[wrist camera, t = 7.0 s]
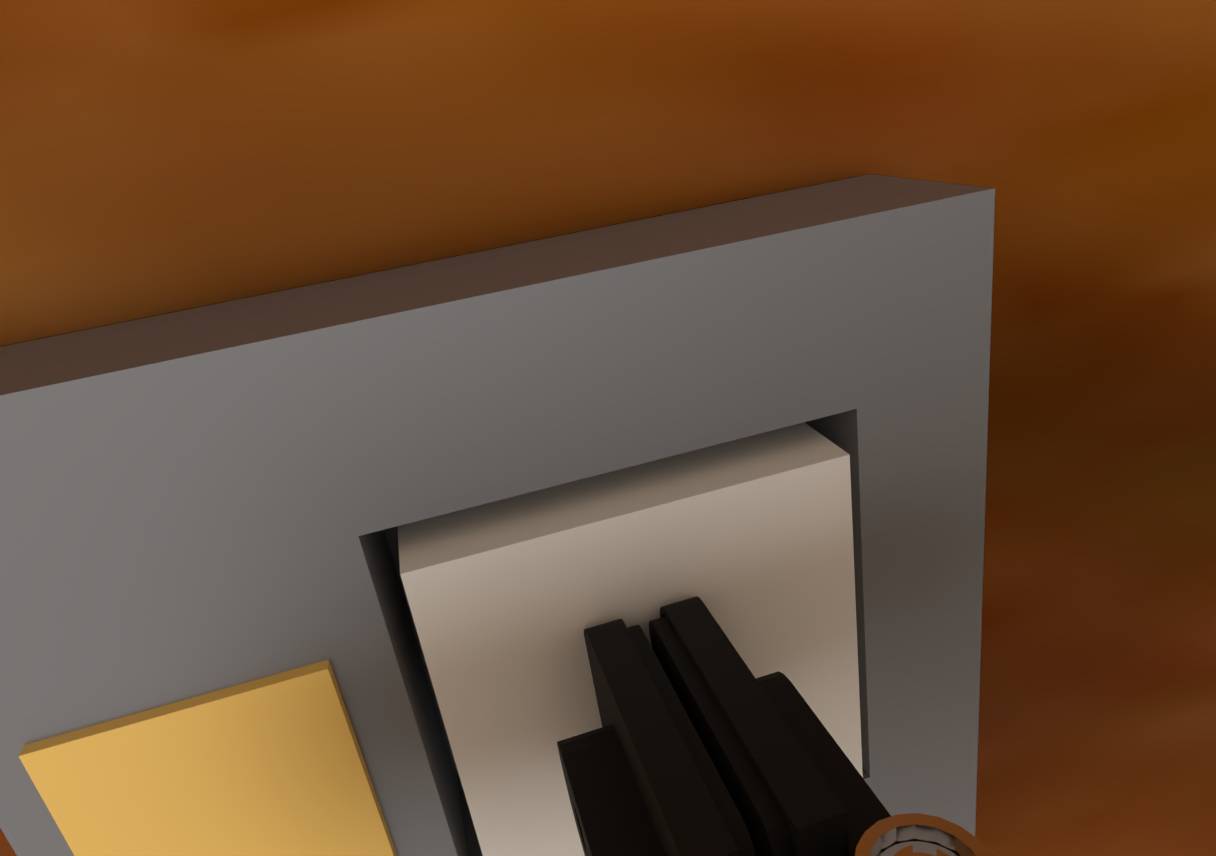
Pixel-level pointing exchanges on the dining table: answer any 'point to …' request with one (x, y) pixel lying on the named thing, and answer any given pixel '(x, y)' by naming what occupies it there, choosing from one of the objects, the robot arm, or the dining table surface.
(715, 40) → the dining table surface
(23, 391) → the button panel
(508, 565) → the end button
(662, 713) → the robot arm
